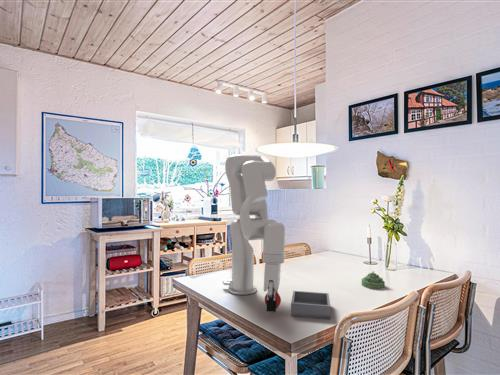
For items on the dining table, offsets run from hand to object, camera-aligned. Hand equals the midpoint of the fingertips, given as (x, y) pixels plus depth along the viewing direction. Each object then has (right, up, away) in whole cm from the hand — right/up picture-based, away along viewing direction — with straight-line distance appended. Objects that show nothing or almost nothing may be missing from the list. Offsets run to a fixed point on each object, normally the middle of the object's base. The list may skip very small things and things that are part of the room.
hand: (272, 307), depth 112 cm
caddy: (+15, -3, +5) cm, 16 cm away
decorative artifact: (+50, -4, +34) cm, 60 cm away
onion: (0, -1, 0) cm, 1 cm away
